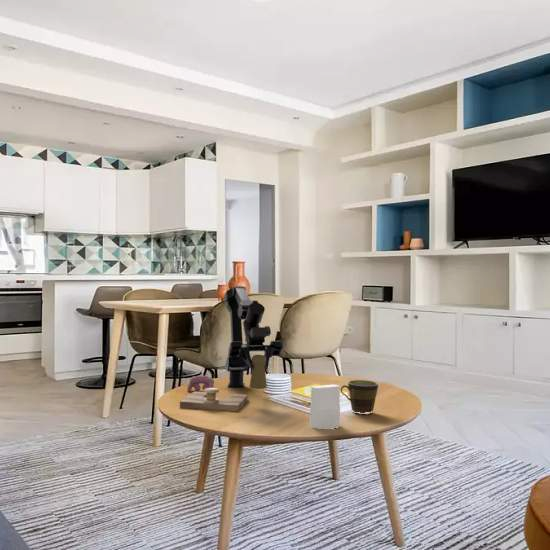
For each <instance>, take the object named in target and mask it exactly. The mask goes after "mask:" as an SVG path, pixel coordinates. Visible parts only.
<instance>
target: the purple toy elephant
mask: <svg viewBox="0 0 550 550" xmlns="http://www.w3.org/2000/svg"><path fill="white" fill-rule="evenodd" d="M201 384H203V385H202V387H201ZM214 384H215V381H214V379H213V378H212V377H211V376H208V375H196V376H195V375H194V376H192V377H191V378H190V379H189V382H188V385H187V392H188V391H190V392H191V391H192V389H193V388H194V390H195V391H197V390H198V391H200V389H202V391H204V389H206V388H214V386H215V385H214Z"/></svg>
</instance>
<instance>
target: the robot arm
mask: <svg viewBox="0 0 550 550" xmlns="http://www.w3.org/2000/svg"><path fill="white" fill-rule="evenodd" d="M223 298H224V299H223V300H224V303H225V308H226V309H227V311H229V317H230V334H231V336H230V339H231V342H230V344H229V347H228V354H227V357H226V361H225V366H224V367H225V371H226V372H229V374H228V375H229V382H228V384H227V387H228V388H230V387H231V388H244V387H245V384H246V383H245V382H244V377H245V376H244V375H245V373H244V372H248V371H249V368H250V370H252V369H253V364H252V360H251V359H252V356H251V353H250V352H264V354H263V356H265V357H266V364H265V370H267V369H268V368H269V364H270V363H269V362H270V359H271V358H272V356H273V357H274V356H275V357H279V356H281V354H282V353H281V352H282V351H283V348H284V344H283V342H282V341H281V340H271V341H270V343H269V344H264V343H265V341H266V339H265V338H266V337H270V335H271V334H272V331H271V327H270V325H266V326H264V327H263V326H262V327H260V324H261V323H262V319H263V317H264V314H265V312H266V311H265V309H266V307H264V305H263V304H261V303H260V302H259V301H258V300H251V299H250V297H249V295H248V293H247V287H246V286H244V285H243V286H242V285H235V286H233V287H232V288H230V289H227V290H226V291H225V293H224V295H223ZM242 320H243V322H242ZM242 325H243V326H242ZM243 331H244V336H245V337H244V339H245V340H244V341H245V342H246V343H244V342H243Z"/></svg>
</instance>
